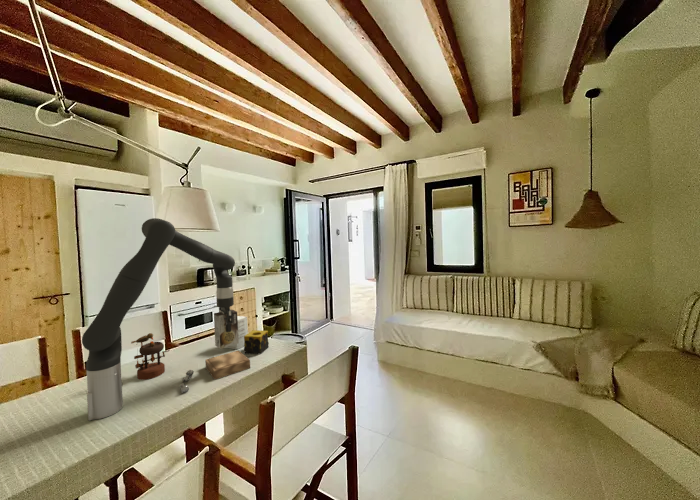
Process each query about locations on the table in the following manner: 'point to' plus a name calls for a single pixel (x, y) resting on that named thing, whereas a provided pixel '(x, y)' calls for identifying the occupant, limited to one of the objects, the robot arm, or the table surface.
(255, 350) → the yellow black tissue box
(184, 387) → the bolt
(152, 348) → the music box
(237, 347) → the supplement box
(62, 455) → the table surface
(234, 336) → the coffee box
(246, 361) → the stand
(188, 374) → the bolt
